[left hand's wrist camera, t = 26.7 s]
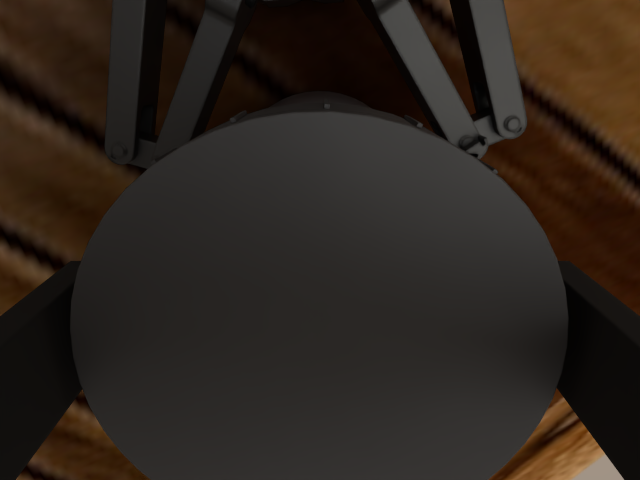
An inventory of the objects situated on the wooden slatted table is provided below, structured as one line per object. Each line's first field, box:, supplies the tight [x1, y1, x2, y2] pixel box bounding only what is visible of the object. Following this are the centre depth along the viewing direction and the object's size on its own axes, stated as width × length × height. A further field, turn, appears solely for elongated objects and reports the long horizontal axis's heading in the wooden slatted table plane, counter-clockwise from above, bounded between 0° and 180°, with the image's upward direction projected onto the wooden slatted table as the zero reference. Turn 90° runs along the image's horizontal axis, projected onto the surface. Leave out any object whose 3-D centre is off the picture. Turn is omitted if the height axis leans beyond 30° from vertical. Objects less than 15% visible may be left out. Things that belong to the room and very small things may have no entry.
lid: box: [70, 99, 569, 480], centre depth 11 cm, size 11×11×2 cm
